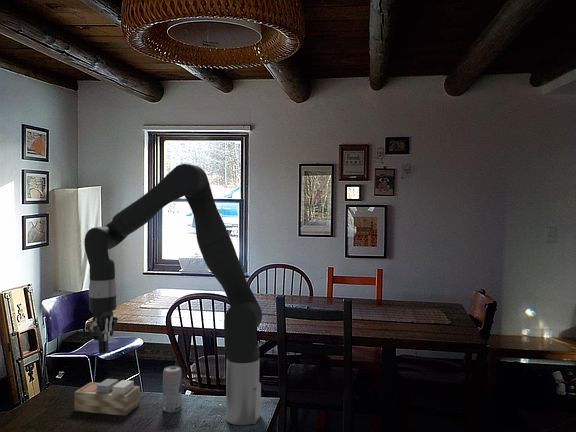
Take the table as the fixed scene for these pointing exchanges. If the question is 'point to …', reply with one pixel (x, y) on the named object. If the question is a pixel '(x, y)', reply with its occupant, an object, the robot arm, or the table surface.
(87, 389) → the rust key
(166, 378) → the energy drink
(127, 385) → the ivory key
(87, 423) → the table surface
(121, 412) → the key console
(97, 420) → the table surface
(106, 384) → the slate key
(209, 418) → the table surface
